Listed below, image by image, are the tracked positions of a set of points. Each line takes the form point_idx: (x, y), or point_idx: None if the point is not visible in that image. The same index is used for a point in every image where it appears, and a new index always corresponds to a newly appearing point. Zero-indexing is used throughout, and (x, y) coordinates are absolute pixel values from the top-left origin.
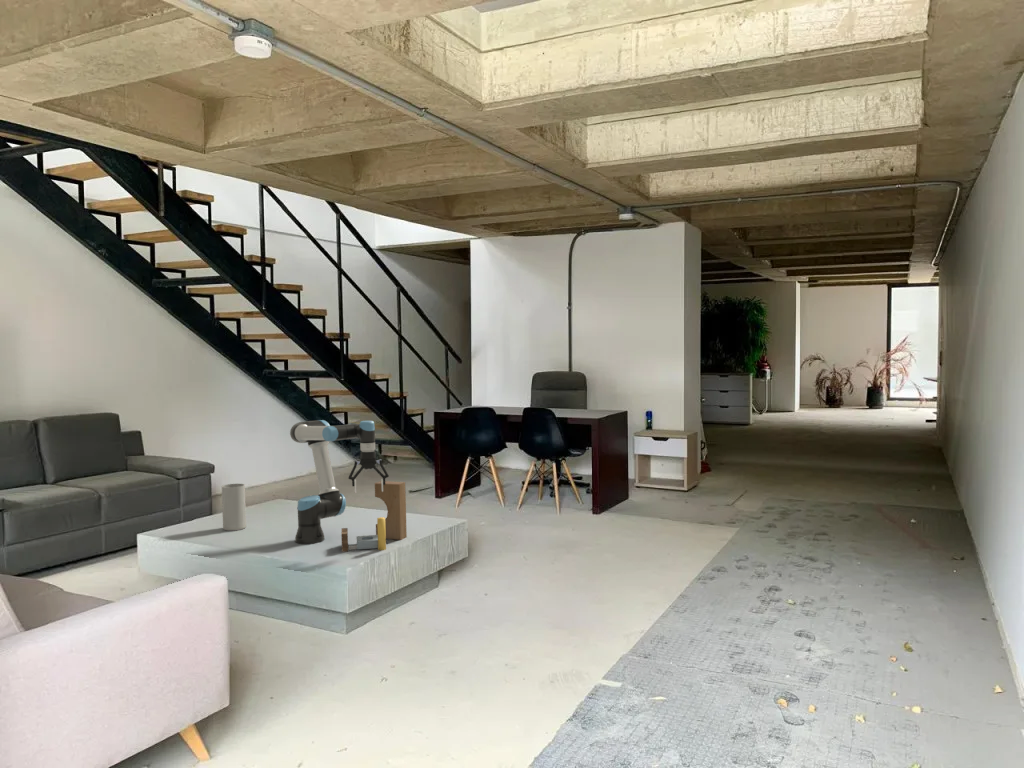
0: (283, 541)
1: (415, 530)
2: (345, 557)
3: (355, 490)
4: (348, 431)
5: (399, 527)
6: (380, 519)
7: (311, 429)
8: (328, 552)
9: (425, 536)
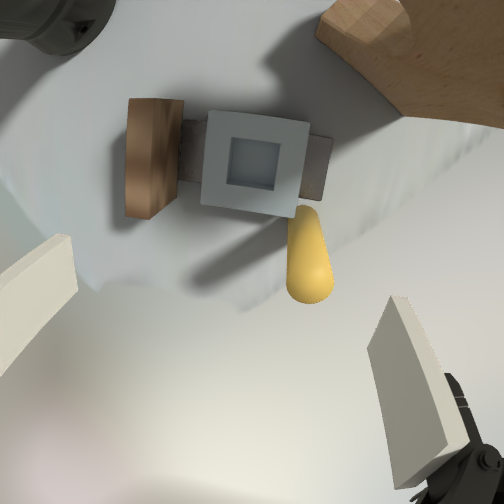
0: None
1: None
2: (167, 266)
3: (56, 303)
4: None
5: (423, 116)
6: (300, 300)
7: None
8: (115, 184)
9: None
